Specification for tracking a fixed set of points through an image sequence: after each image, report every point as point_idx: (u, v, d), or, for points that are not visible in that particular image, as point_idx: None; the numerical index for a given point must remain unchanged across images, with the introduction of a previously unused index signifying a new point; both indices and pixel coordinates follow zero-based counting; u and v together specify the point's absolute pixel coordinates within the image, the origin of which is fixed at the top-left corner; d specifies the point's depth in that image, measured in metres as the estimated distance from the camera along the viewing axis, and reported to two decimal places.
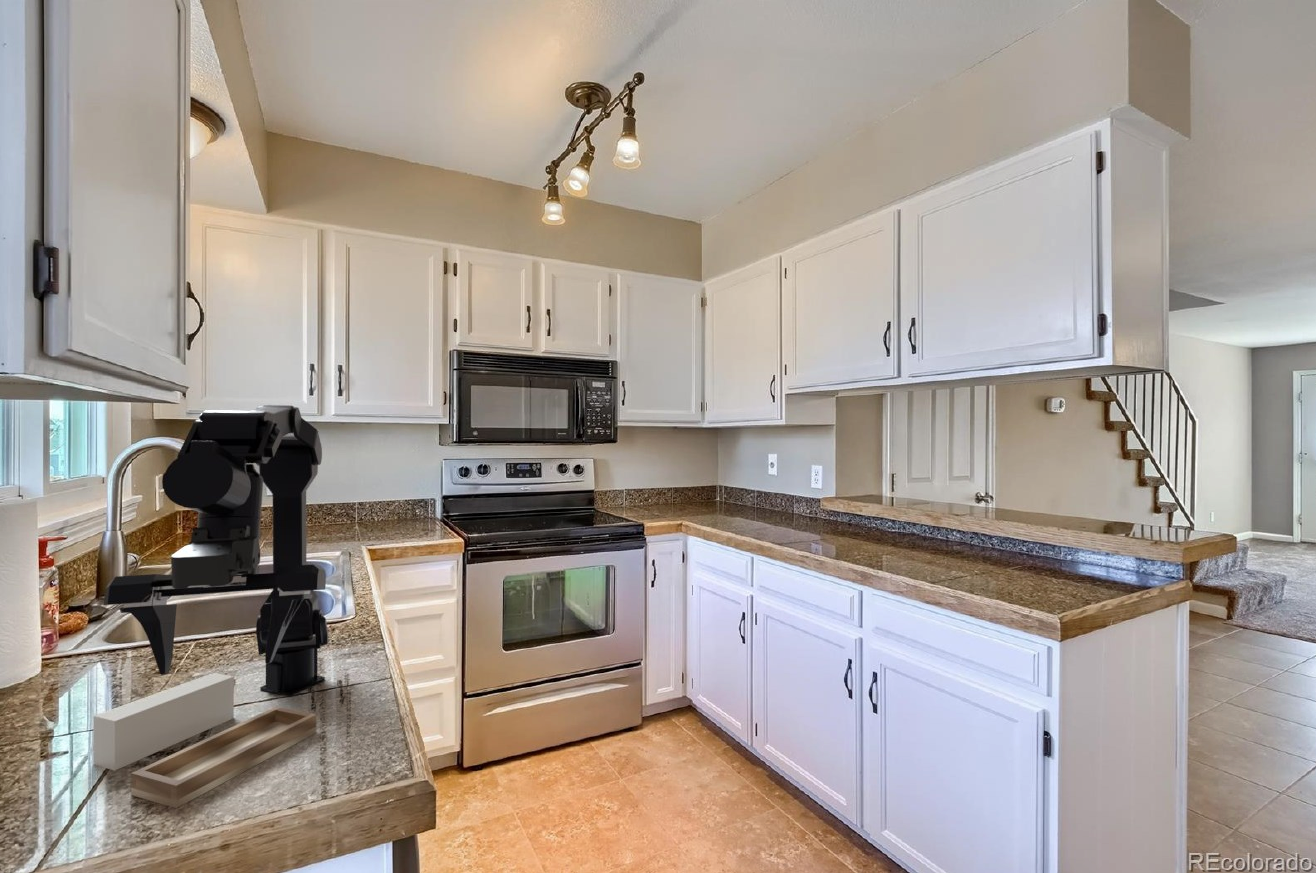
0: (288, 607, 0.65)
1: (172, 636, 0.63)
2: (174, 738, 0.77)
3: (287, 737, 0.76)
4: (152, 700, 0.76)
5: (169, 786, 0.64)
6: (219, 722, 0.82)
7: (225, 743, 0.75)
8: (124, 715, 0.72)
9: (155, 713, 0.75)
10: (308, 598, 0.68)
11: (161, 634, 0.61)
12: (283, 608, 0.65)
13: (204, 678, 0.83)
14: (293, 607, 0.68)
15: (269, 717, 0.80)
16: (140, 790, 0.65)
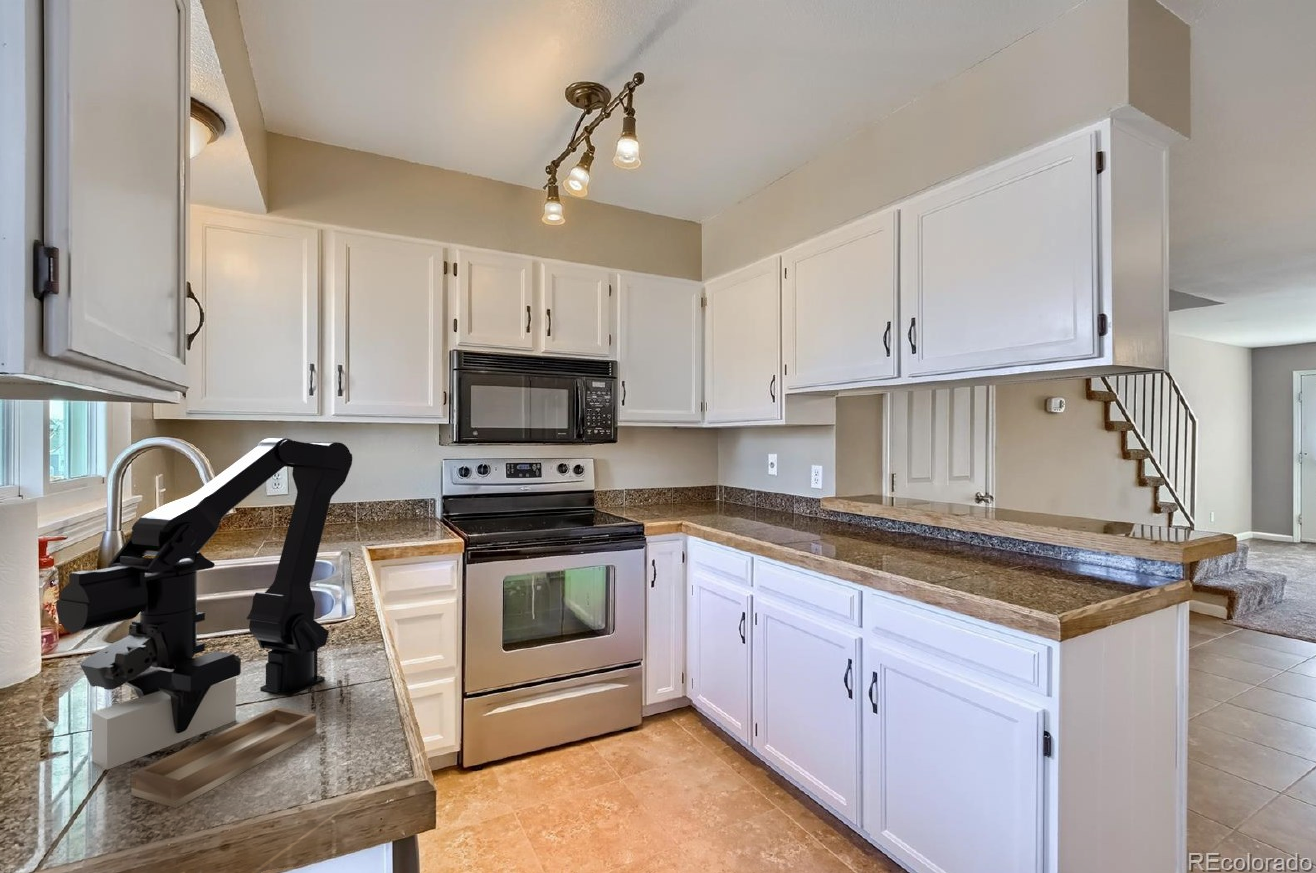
0: (176, 696, 0.75)
1: None
2: (171, 738, 0.76)
3: (287, 737, 0.76)
4: (151, 699, 0.76)
5: (169, 786, 0.64)
6: (220, 723, 0.81)
7: (225, 743, 0.75)
8: (119, 713, 0.72)
9: (151, 712, 0.75)
10: None
11: None
12: (173, 695, 0.75)
13: None
14: None
15: (269, 717, 0.80)
16: (140, 790, 0.65)
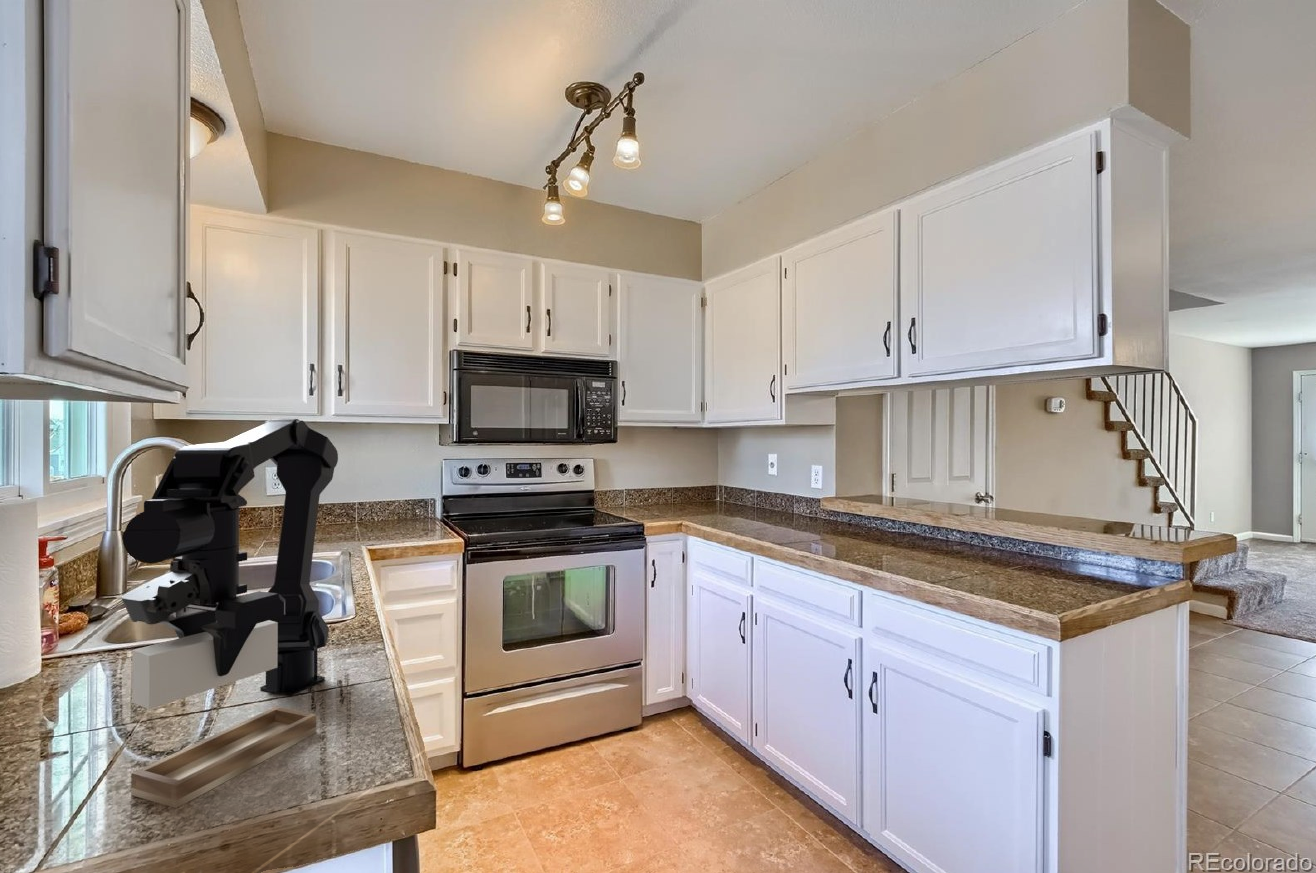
0: (218, 635, 0.71)
1: None
2: (213, 680, 0.73)
3: (287, 737, 0.76)
4: (192, 639, 0.73)
5: (169, 786, 0.64)
6: (262, 669, 0.78)
7: (225, 743, 0.75)
8: (161, 651, 0.69)
9: (193, 652, 0.71)
10: None
11: None
12: (216, 635, 0.71)
13: None
14: (245, 627, 0.74)
15: (269, 717, 0.80)
16: (140, 790, 0.65)
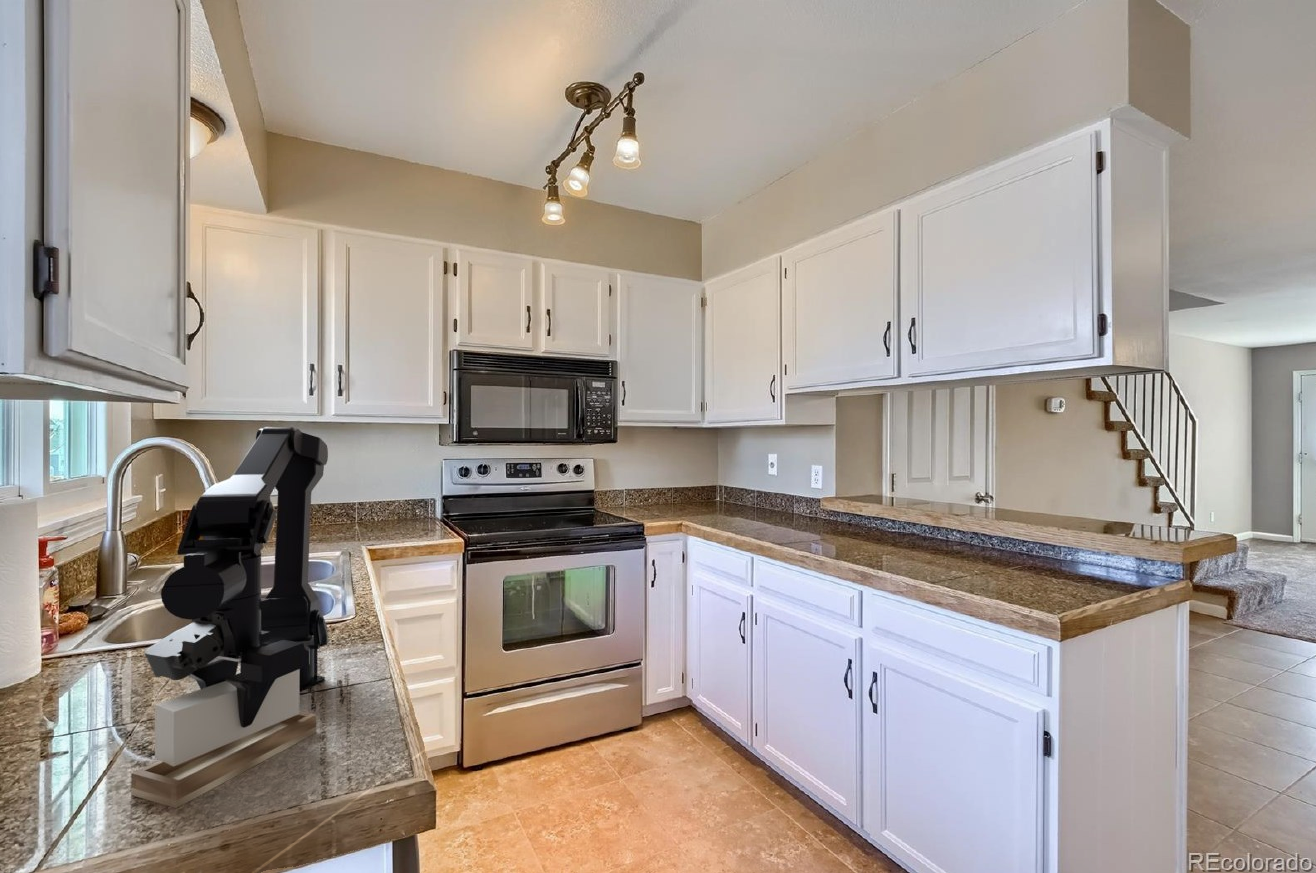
0: (243, 687, 0.70)
1: None
2: (237, 732, 0.71)
3: (287, 737, 0.76)
4: (215, 690, 0.71)
5: (169, 786, 0.64)
6: (284, 716, 0.76)
7: None
8: (185, 705, 0.67)
9: (216, 704, 0.69)
10: None
11: None
12: (240, 687, 0.70)
13: None
14: None
15: None
16: (140, 790, 0.65)
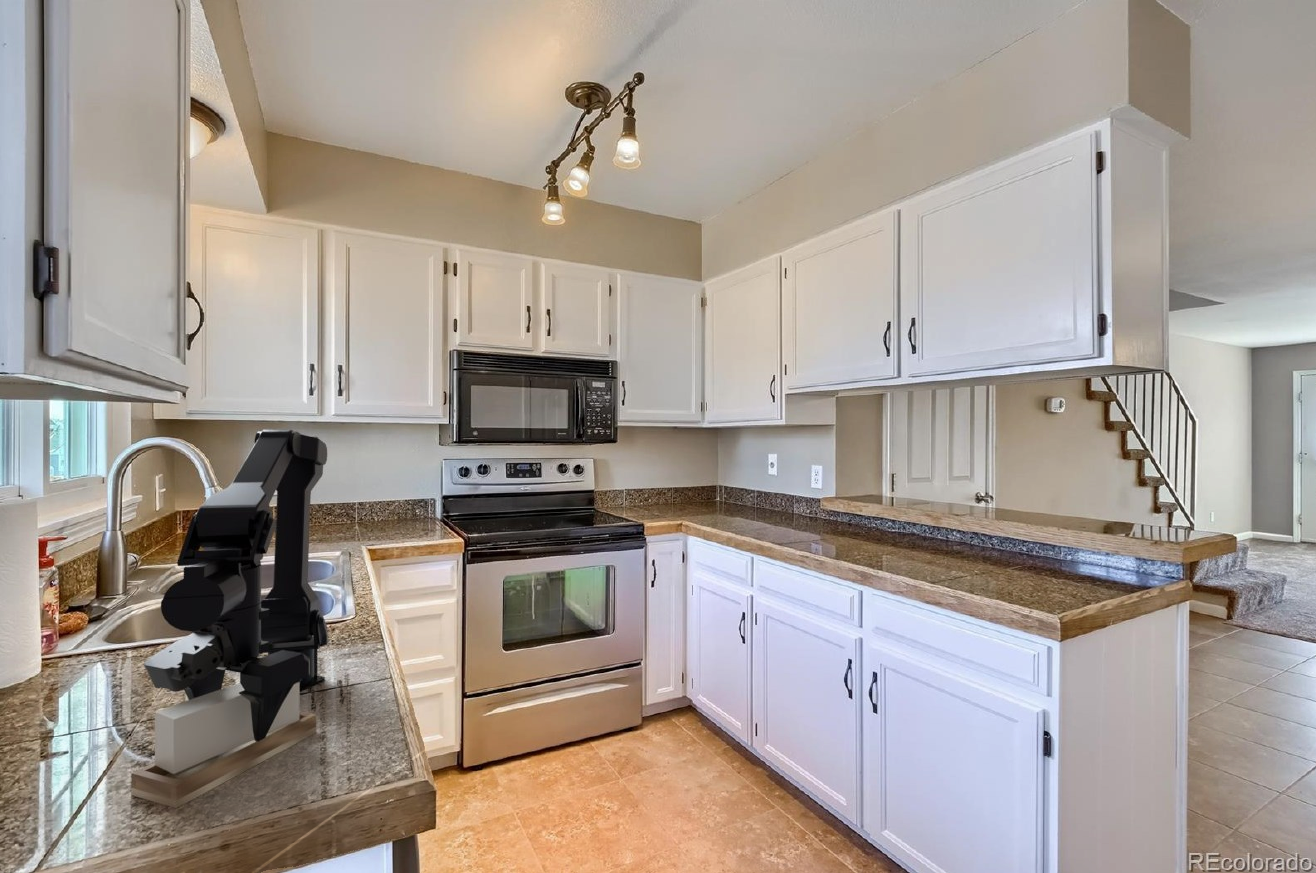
0: (257, 701, 0.69)
1: None
2: (237, 739, 0.71)
3: (287, 737, 0.76)
4: (215, 697, 0.71)
5: (169, 786, 0.64)
6: (284, 723, 0.76)
7: None
8: (185, 712, 0.67)
9: (216, 711, 0.69)
10: (286, 687, 0.71)
11: None
12: (254, 701, 0.69)
13: None
14: (282, 690, 0.72)
15: None
16: (140, 790, 0.65)
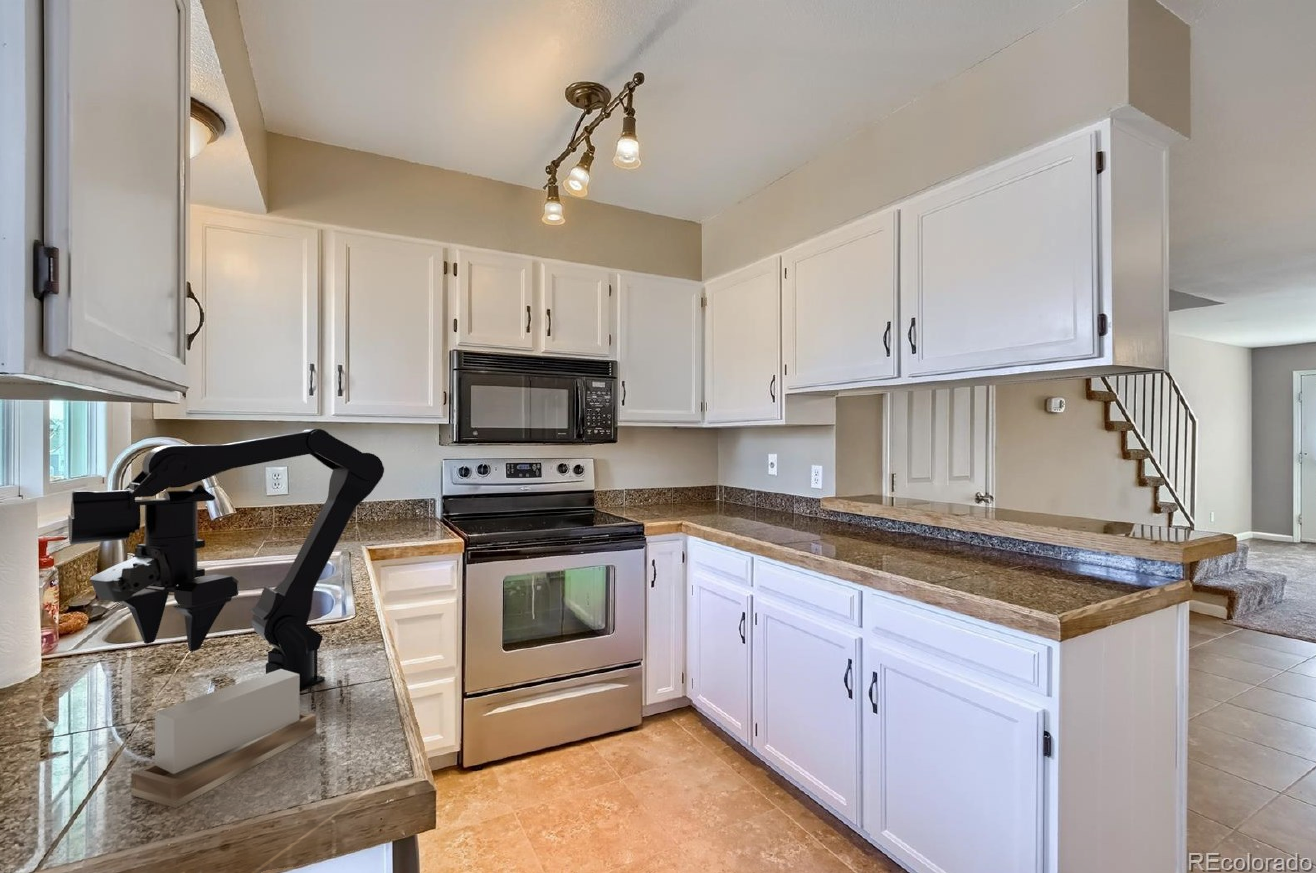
0: (189, 614, 0.80)
1: (159, 614, 0.86)
2: (237, 739, 0.71)
3: (287, 737, 0.76)
4: (215, 697, 0.71)
5: (169, 786, 0.64)
6: (284, 723, 0.76)
7: None
8: (185, 712, 0.67)
9: (216, 711, 0.69)
10: (216, 604, 0.82)
11: (139, 617, 0.84)
12: (187, 614, 0.80)
13: (270, 674, 0.78)
14: (214, 608, 0.83)
15: None
16: (140, 790, 0.65)
